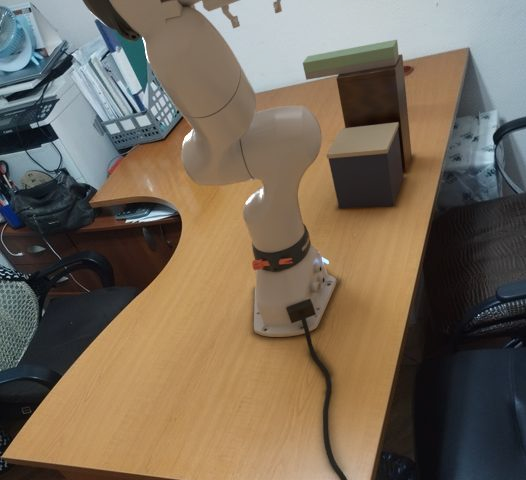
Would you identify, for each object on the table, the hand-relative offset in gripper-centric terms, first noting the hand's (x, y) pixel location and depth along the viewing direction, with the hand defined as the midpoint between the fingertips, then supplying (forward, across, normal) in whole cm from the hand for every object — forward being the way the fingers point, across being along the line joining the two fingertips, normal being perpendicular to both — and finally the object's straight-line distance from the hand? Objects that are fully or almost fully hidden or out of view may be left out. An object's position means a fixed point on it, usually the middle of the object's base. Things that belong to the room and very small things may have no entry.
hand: (257, 19), depth 109 cm
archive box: (+44, +17, -8) cm, 48 cm away
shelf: (+44, +22, +4) cm, 50 cm away
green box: (+18, +18, +6) cm, 26 cm away
